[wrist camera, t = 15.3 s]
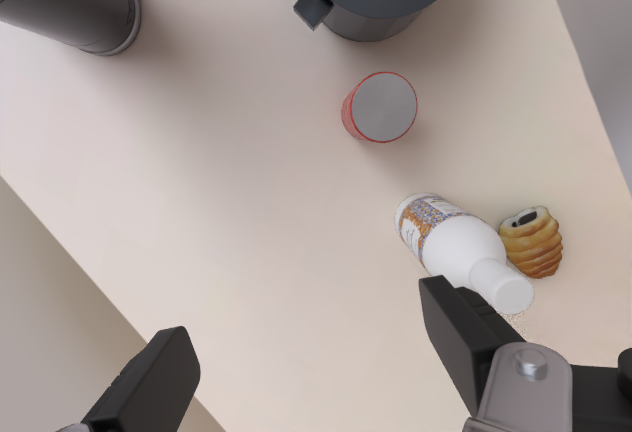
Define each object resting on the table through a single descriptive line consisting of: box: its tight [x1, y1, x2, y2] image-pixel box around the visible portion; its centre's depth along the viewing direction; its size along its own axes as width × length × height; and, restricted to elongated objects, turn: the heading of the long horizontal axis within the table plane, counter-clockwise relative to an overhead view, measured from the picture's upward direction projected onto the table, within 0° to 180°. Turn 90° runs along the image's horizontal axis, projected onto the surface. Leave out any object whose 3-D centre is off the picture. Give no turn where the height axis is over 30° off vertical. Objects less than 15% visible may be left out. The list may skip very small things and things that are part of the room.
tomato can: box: [342, 72, 417, 143], centre depth 33 cm, size 6×6×10 cm
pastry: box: [499, 206, 563, 279], centre depth 40 cm, size 9×7×4 cm
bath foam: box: [395, 193, 535, 315], centre depth 31 cm, size 7×7×20 cm
